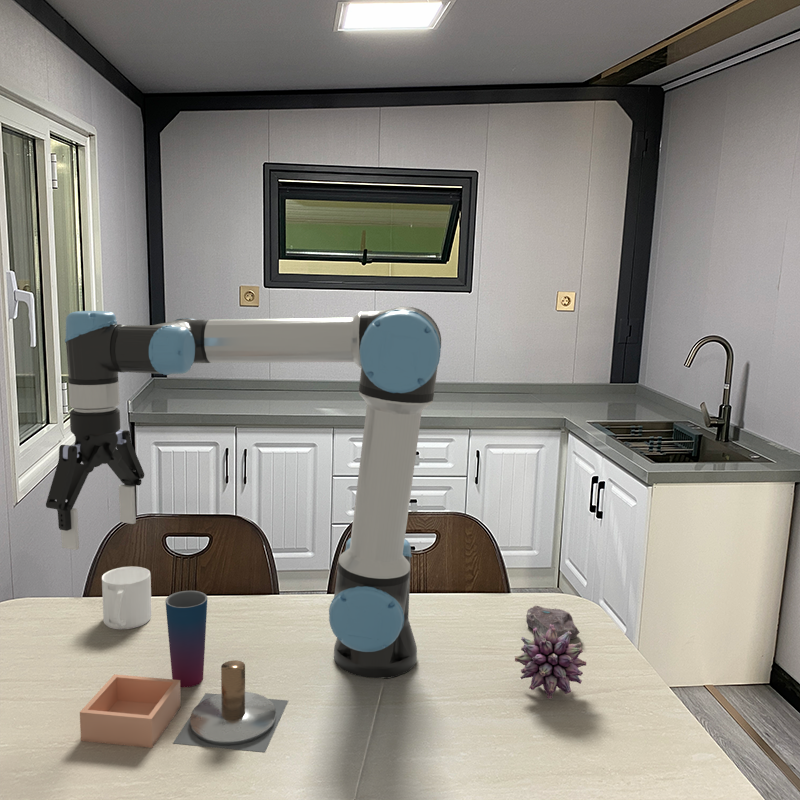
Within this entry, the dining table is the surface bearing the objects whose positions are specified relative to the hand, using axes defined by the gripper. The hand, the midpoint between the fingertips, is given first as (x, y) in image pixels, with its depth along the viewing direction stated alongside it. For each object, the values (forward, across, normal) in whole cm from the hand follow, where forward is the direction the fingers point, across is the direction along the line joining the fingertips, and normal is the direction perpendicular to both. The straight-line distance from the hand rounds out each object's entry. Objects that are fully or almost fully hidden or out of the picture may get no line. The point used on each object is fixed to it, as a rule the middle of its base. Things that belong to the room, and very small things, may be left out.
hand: (100, 534), depth 131 cm
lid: (+26, +3, +26) cm, 37 cm away
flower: (+27, -26, +71) cm, 80 cm away
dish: (+26, +9, +13) cm, 30 cm away
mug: (+26, -18, -12) cm, 34 cm away
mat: (+26, +3, +26) cm, 37 cm away
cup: (+26, -5, +13) cm, 30 cm away
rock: (+27, -49, +68) cm, 88 cm away
